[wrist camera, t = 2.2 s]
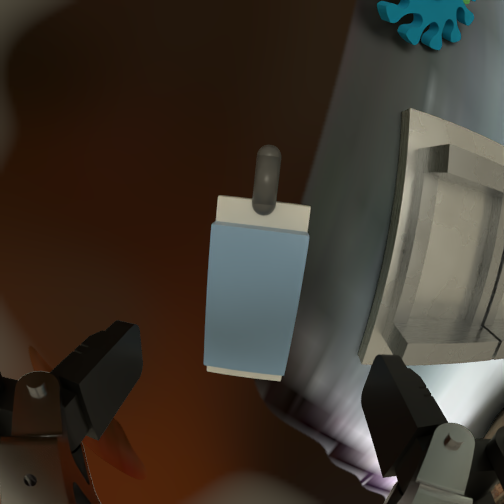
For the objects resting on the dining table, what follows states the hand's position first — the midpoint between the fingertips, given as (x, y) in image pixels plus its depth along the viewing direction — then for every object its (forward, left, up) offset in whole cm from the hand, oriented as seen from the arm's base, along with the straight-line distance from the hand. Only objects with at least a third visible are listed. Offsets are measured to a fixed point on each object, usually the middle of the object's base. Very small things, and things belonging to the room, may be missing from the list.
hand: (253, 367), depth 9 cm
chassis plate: (-3, +16, -9) cm, 18 cm away
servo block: (-2, 0, -9) cm, 9 cm away
